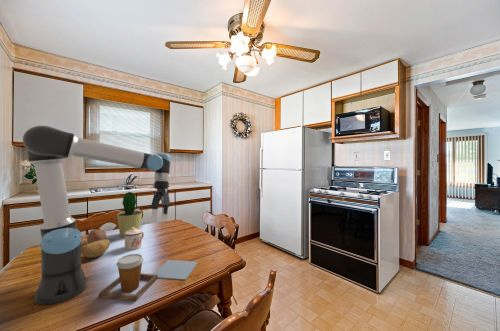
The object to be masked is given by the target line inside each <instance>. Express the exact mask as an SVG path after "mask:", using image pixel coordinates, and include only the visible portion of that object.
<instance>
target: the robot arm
mask: <svg viewBox="0 0 500 331" xmlns="http://www.w3.org/2000/svg"><path fill="white" fill-rule="evenodd" d="M22 143H23V146H24V147H25V149H26V155H27V161H28V163H30V164H31V165H33V166H34V170H35V178H36V181H37V187H38V188H37V189H38V194H39V201H40V206H41V212H42V216H43V223H42V224H41V225H40V227H39V231H40V236H41V241H40V250H41V252H40V254H41V255H40V256H41V258H40V259H41V260H40V262H41V265H40V266H41V269H40V270H41V278H40V282H38V283H39V284H38V287H37V289H36V291H35V294H34V301H35V303H36V304H37V305H53V303H54V304H57V303H61V302H64V301H67V300H70V299H72V298H74V297H76V296H78V295H80V294H81V293H83V291H85V290H86V288H87V286H88V284H87V283H88V282H87V277H86V276H85V273H84V271H83V269H82V254H81V249H82V240H83V238H82V233H81V231H80V230H79V229H78V227H77V226H78V225H77V220H76V218H75V217H72V215H71V212H70V211H71V210H70V204H69V196H68V192H67V184H66V178H65V173H64V166H63V163H65V161H66V160H67V158H70V157H77V158H83V159H89V160H95V161H99V162H105V163H111V164H117V165H123V166H128V167H132V168H134V169H142V170H149V171H154V178H153V180H154V183H153V188H154V189H155V191H154V192H153V198H152V202H151V205H150V209H151V210H152V212H151V222H157V221H158V213H159V211H158V210H159V205H160V201H161V204H162V206H161V219H160V221H161V222H167V221H168V212H169V210H168V209H169V207H170V206H171V200H170V194H169V187H170V182H169V181H170V178H171V176H170V171H171V170H170V168H171V156H170V155H169V154H167V153H157V154H154V153H153V154H151V153H147V152H143V151H138V150H134V149H129V148H125V147H121V146H116V145H112V144H107V143H104V142H99V141H95V140H90V139H86V138H81V137H78V136H77V135H76V134H75V133H72V132H67V131H63V130H60V129H59V128H58V129H57V128H55V127H51V126H50V125H49V126H48V125H36V126H33V127H29V128H28V129H27V130H26V131H25V132H24V134H23V135H22Z"/></svg>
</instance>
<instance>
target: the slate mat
mask: <svg viewBox="0 0 500 331" xmlns="http://www.w3.org/2000/svg"><path fill="white" fill-rule="evenodd" d="M198 263H199V261H192V260H191V261H190V260H175V259H172V260H171V259H167V260H166V261H165V262H164V263H163V264H162V265H161V266H160V267H159V268H158V269H156V271H155V272H154V273H153V274H156V275H158V279H166V280H181V281H186V280H187V279H188V278H189V277H190V275H191V273H192V272H193V271H194V269H195V268H196V266H197V265H198Z"/></svg>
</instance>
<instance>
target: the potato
mask: <svg viewBox="0 0 500 331" xmlns="http://www.w3.org/2000/svg"><path fill="white" fill-rule="evenodd" d="M110 246H111V242H110V240H109V239H106V238H105V239H103V240H99V241H95V242H92V243H89V242H88V243H87V244H85V245H83V246H81V256H83V257H84V258H88V259H95V258H98V257H101V256H103V255H104V253H105V252H106V251H107V250H108V249H109V247H110Z"/></svg>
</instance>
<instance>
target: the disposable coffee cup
mask: <svg viewBox="0 0 500 331" xmlns="http://www.w3.org/2000/svg"><path fill="white" fill-rule="evenodd" d="M143 262H144V257H143V255H142V254H139V253H130V254H126V255H123V256H121V257H120V258H118V260H117V262H116V267H117V269H118V278H119V277H120V283H119V284H120V290H121V292H122V293H130V292H134V291H135V290H137V289H138V288H139V287H140V280H141V279H140V275H141V273H142V267H143Z"/></svg>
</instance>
